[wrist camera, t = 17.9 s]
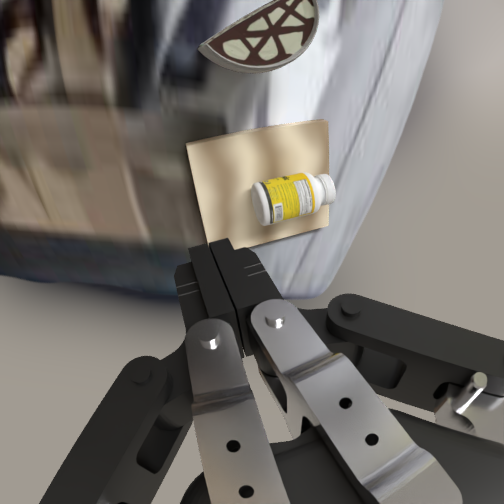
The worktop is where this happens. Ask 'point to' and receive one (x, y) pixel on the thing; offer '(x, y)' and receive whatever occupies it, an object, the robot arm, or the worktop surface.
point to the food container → (265, 37)
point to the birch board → (255, 178)
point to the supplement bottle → (291, 197)
